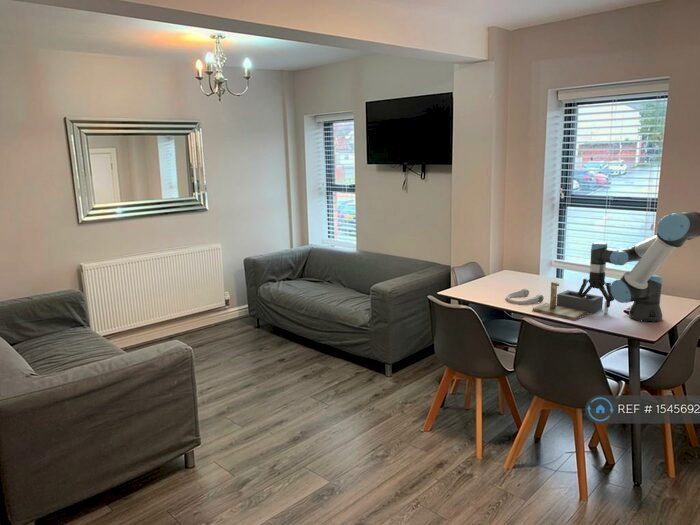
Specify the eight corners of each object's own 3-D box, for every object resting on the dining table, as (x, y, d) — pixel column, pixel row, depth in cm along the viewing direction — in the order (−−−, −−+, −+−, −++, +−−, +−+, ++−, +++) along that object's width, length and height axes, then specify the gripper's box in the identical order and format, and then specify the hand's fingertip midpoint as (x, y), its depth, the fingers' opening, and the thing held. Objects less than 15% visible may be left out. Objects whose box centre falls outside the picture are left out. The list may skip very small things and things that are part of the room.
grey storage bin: (602, 309, 285) (603, 296, 283) (591, 313, 277) (592, 301, 276) (567, 301, 300) (567, 290, 298) (556, 306, 292) (557, 294, 291)
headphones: (517, 306, 296) (518, 297, 295) (501, 298, 311) (501, 290, 310) (544, 302, 301) (545, 294, 300) (527, 295, 316) (527, 287, 315)
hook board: (587, 314, 276) (589, 285, 273) (574, 320, 268) (576, 290, 264) (545, 305, 294) (547, 277, 291) (532, 310, 286) (533, 282, 282)
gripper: (623, 273, 271) (620, 313, 275) (579, 266, 289) (576, 304, 293) (617, 276, 266) (614, 316, 271) (572, 269, 284) (570, 307, 288)
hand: (594, 310), depth 282 cm, fingers open, 11 cm apart
